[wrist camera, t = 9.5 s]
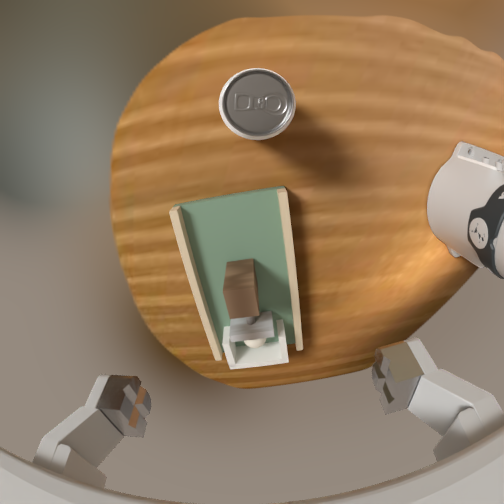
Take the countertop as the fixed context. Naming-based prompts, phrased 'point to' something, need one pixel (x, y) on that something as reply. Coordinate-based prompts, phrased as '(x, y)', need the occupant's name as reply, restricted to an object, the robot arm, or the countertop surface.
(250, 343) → the ball
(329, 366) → the countertop surface
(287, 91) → the can
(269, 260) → the pitch
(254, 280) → the block
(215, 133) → the countertop surface
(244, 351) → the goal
